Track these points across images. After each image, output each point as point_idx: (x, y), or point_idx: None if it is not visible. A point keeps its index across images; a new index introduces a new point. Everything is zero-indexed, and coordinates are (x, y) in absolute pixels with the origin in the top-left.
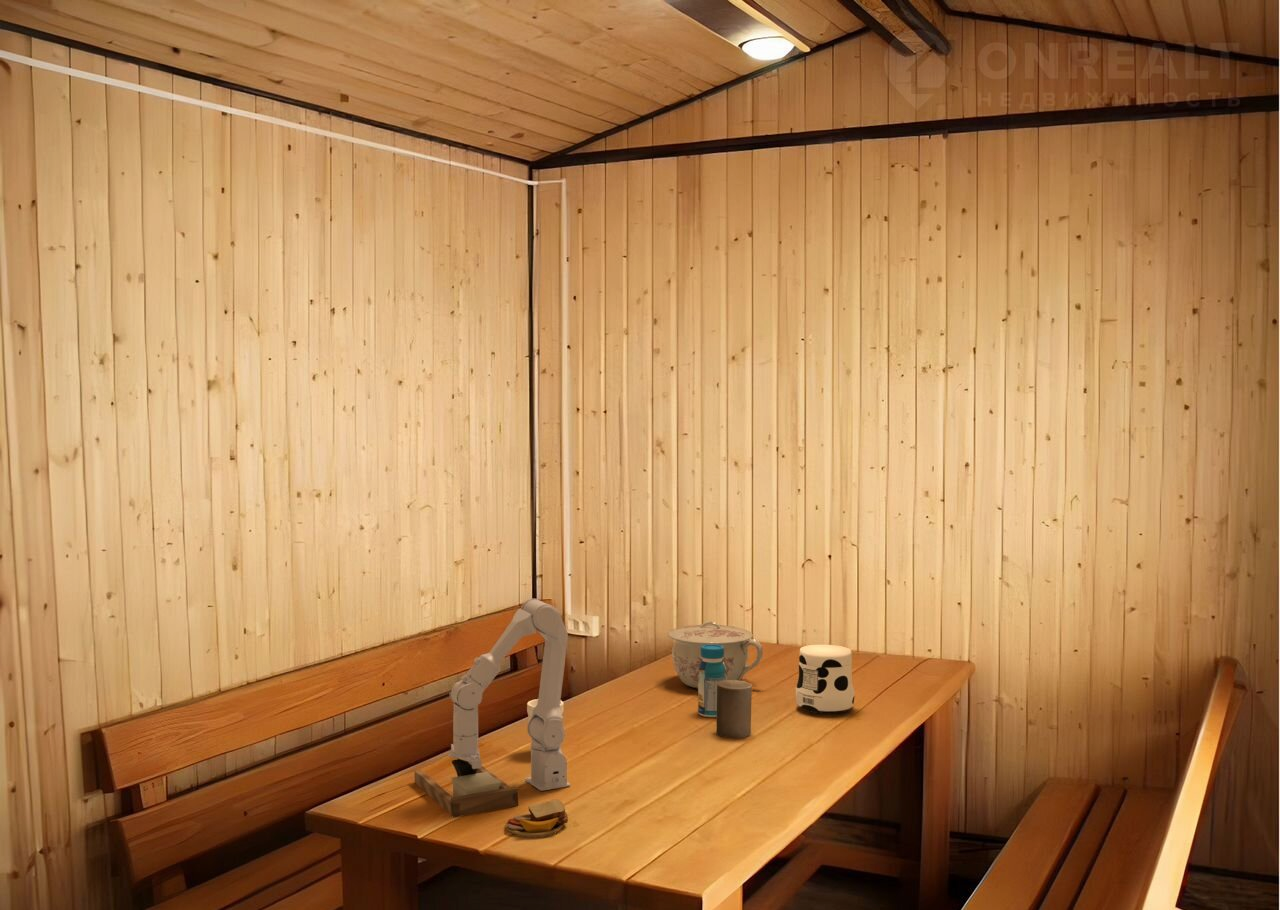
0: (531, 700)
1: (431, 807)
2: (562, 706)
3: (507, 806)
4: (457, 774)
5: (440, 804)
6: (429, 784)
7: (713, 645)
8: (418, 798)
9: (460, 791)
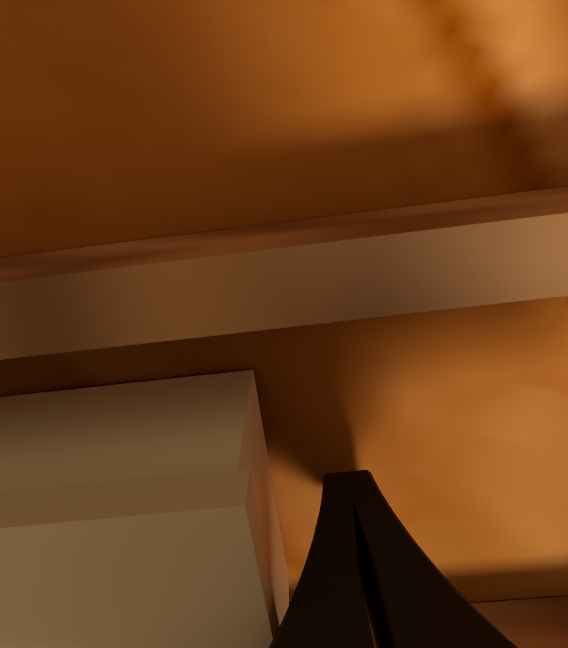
0: None
1: (135, 145)
2: None
3: None
4: (425, 578)
5: (147, 241)
6: (518, 215)
7: None
8: (454, 68)
9: (6, 473)
